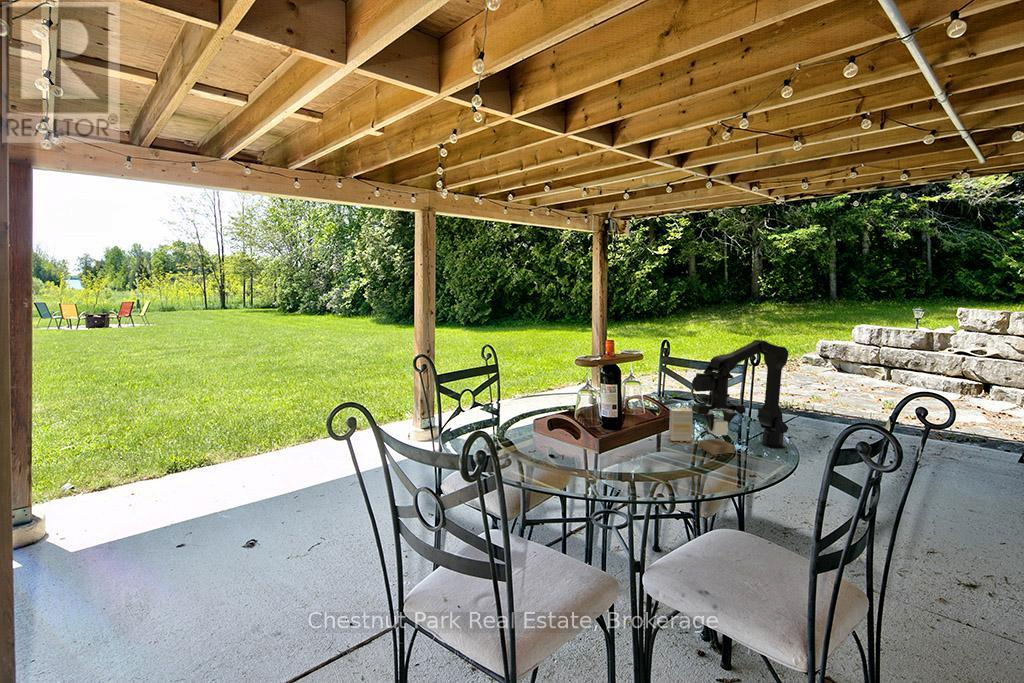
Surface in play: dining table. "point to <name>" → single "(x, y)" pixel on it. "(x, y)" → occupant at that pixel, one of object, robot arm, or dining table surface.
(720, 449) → the walnut block
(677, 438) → the supplement box
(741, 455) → the dining table surface
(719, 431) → the cube
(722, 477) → the dining table surface
